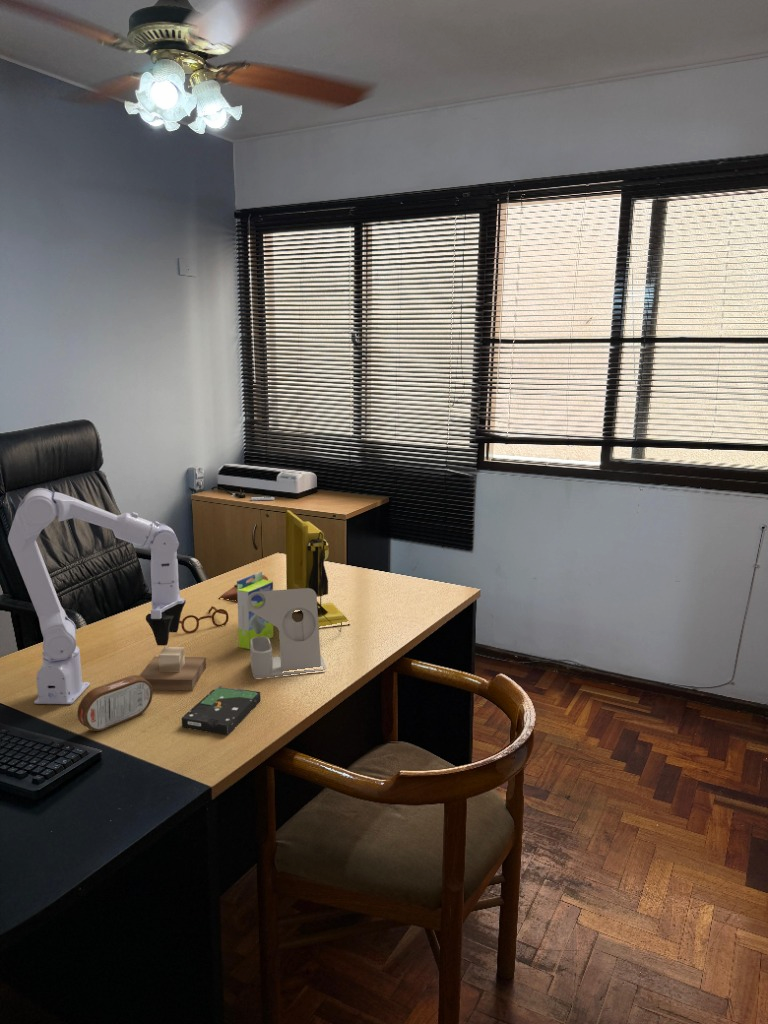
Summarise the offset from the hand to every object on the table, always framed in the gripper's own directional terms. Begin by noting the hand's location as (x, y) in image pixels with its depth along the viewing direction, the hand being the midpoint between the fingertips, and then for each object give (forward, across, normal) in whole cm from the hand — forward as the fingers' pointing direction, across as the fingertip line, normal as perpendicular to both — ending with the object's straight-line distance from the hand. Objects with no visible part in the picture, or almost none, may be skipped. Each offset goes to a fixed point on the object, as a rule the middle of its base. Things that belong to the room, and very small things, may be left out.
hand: (167, 638), depth 158 cm
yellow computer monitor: (+10, +38, -31) cm, 50 cm away
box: (+10, +22, -16) cm, 28 cm away
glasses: (+10, +34, +3) cm, 36 cm away
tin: (+10, -20, +4) cm, 23 cm away
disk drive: (+10, -16, -16) cm, 25 cm away
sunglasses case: (+10, +61, -5) cm, 62 cm away
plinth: (+9, 0, -1) cm, 9 cm away
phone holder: (+10, +7, -26) cm, 28 cm away
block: (+7, 0, -1) cm, 7 cm away
